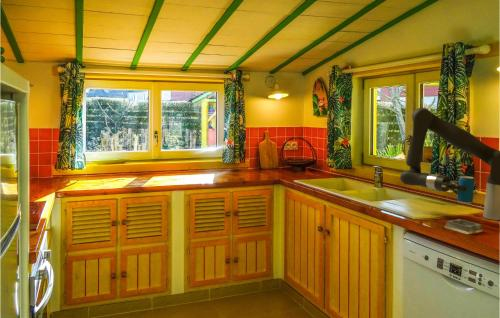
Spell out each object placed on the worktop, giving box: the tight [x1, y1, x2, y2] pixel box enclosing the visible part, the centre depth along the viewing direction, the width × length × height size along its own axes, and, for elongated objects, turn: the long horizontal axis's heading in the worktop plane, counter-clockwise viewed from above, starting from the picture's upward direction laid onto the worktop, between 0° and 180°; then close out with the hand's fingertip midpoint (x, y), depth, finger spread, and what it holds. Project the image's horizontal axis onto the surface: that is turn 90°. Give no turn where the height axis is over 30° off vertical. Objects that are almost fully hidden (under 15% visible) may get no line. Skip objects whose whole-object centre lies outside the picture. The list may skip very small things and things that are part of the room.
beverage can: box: [456, 175, 476, 205], centre depth 200 cm, size 6×6×12 cm
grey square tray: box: [444, 218, 484, 235], centre depth 191 cm, size 11×11×3 cm
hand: (470, 188), depth 198 cm, fingers closed on beverage can, 6 cm apart
